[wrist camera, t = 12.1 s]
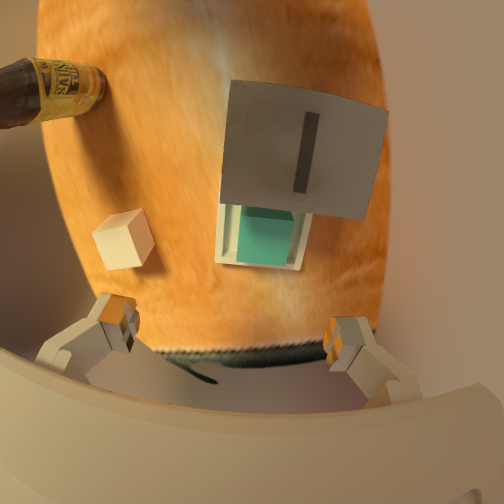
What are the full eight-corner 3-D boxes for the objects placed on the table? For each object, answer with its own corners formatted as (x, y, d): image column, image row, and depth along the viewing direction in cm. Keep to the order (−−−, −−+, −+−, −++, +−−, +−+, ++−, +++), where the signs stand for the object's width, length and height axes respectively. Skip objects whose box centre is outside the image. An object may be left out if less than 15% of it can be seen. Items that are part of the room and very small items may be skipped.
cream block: (110, 215, 31) (91, 233, 26) (143, 207, 30) (127, 225, 26) (122, 249, 33) (107, 270, 29) (155, 243, 33) (142, 265, 29)
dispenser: (240, 87, 24) (231, 74, 13) (337, 103, 24) (391, 106, 14) (232, 164, 28) (219, 204, 17) (324, 176, 28) (364, 222, 18)
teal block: (238, 238, 32) (236, 261, 27) (242, 197, 29) (240, 215, 25) (281, 242, 32) (285, 266, 28) (288, 202, 29) (294, 221, 25)
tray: (222, 172, 28) (219, 177, 26) (313, 183, 29) (318, 189, 27) (216, 252, 33) (214, 262, 31) (297, 260, 34) (299, 270, 32)
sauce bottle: (118, 89, 23) (-31, 105, 6) (82, 124, 25) (-55, 178, 7) (92, 52, 20) (-47, 47, 3) (59, 89, 22) (-74, 118, 5)
